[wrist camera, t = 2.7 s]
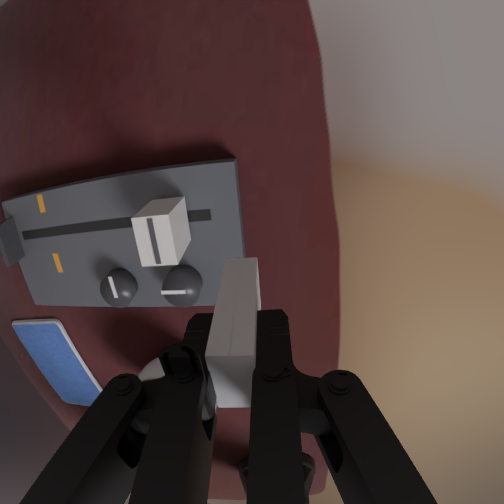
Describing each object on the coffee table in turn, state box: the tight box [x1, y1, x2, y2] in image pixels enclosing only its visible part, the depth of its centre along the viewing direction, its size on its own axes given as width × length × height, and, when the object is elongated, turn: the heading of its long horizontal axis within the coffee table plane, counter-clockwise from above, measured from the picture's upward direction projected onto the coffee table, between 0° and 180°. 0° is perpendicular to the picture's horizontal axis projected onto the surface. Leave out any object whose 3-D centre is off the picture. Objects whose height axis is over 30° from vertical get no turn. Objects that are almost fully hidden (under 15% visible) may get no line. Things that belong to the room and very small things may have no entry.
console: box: [0, 158, 246, 308], centre depth 28 cm, size 14×28×5 cm, turn 95°
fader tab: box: [131, 196, 191, 267], centre depth 24 cm, size 4×3×5 cm
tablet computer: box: [12, 318, 103, 406], centre depth 41 cm, size 19×13×1 cm, turn 11°
